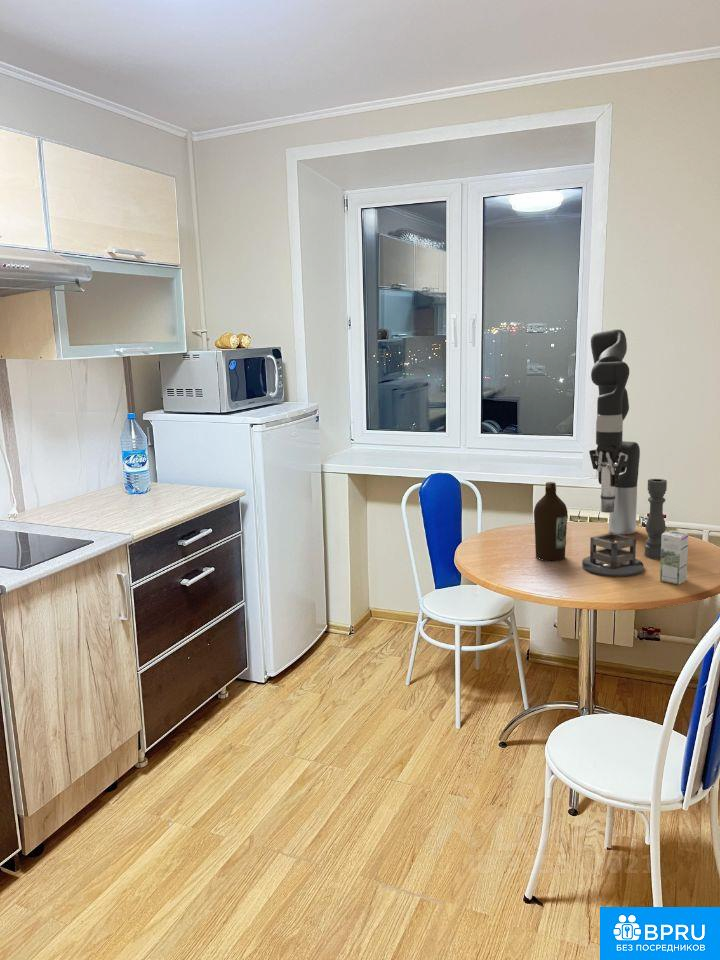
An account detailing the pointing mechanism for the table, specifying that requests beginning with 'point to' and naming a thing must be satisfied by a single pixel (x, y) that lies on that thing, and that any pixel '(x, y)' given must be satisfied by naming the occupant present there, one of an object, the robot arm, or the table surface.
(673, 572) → the syrup box
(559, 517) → the olive oil
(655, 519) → the candle holder
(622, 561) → the collar stand
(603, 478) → the silver metal bottle
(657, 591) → the table surface
